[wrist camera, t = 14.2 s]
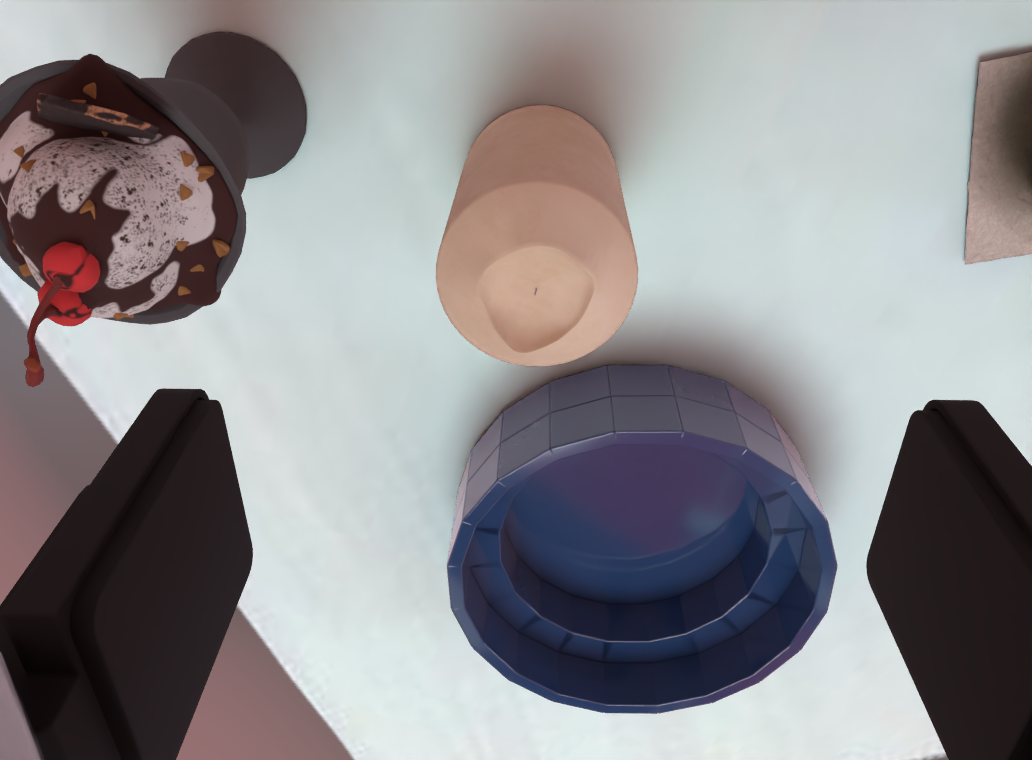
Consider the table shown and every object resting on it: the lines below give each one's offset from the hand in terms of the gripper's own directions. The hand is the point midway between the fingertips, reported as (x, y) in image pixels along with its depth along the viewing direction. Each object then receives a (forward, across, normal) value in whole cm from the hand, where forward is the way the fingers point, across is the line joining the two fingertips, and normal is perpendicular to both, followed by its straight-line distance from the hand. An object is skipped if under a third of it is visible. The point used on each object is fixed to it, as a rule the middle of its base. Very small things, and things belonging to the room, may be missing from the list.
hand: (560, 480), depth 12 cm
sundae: (+21, +11, 0) cm, 23 cm away
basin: (+20, -4, +18) cm, 27 cm away
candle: (+20, 0, +3) cm, 21 cm away
